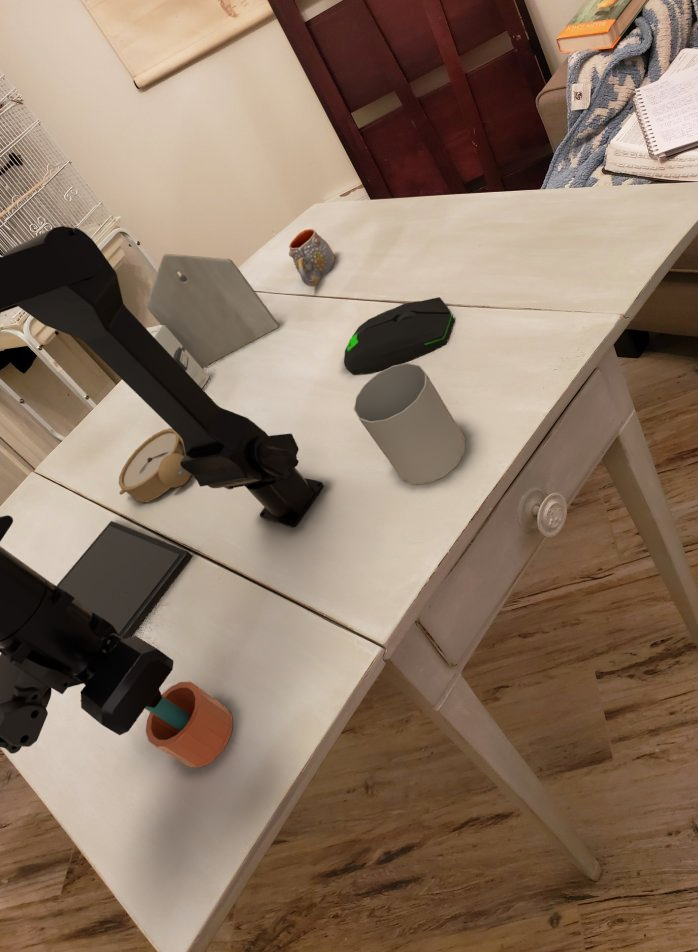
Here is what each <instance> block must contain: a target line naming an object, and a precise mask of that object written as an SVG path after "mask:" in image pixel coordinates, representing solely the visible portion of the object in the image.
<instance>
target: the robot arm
mask: <svg viewBox="0 0 698 952" xmlns="http://www.w3.org/2000/svg"><path fill="white" fill-rule="evenodd" d="M123 299H124V298H123V296H122V291H121V285H120V282H119V278H118V274H117V272H116V270H115V269H114V267H113V266H112V264H111V263H110V262H109V261H108V259H107V257H106V256H105V255H104V253H103V252H102V250H101V249H100V248H99V246H98V245H97V244H96V242H95V241H94V240H93V239H92V238H91V236H90V235H88V234H87V233H86V232H85V231H84V230H82V229H80V228H78V227H74V228H73V227H72V226H71V227H70V226H65V225H61V226H56V227H53V228H51V229H49V230H47V231H45V232H43V233H40V234H38V235H36V236H34V237H32V238H30V239H28V240H26V241H24V242H21V243H20V244H17V245H16V246H14V247H11V248H10V249H9V250H6V251H5V252H4V254H2V256H0V314H1V313H4V312H7V311H10V310H12V309H15V308H20V309H21V310H22V311H24V312H26V313H27V314H29V316H31V317H32V318H34V319H35V320H36V321H38V322H39V323H41V324H42V325H44V326H46V327H48V328H50V329H54V330H56V331H59V332H61V333H64V334H65V335H69V336H72V337H74V338H77V339H79V340H80V341H81V342H83V343H84V344H85V345H86V346H87V347H88V348H90V350H91V351H92V352H93V353H95V355H97V356H98V358H100V359H101V361H103V362H104V363H105V364H106V365H107V367H109V368H110V369H111V371H113V372H114V374H116V375H117V376H118V377H119V378H120V379H121V380H122V381H123V382H124V383H125V384H126V385H127V386H128V387H129V388H131V390H132V391H133V392H134V393H135V394H136V395H137V396H138V397H139V398H141V400H142V401H143V402H144V403H146V404H147V405H148V407H149V408H150V409H152V410H153V412H154V413H156V414H157V416H159V417H160V418H161V419H162V420H163V421H164V422H165V423H166V424H167V425H168V426H169V428H171V429H173V430H174V431H175V432H176V433H177V434H178V435H179V436H180V437H181V438H182V441H183V446H184V451H185V457H184V458H183V459H182V461H181V462H180V465H181V466H182V468H183V469H185V470H186V471H188V472H189V473H190V474H191V476H192V477H193V478H194V479H195V481H196V482H197V484H198V486H199V487H200V488H201V487H207V486H208V487H209V488H210V489H222V488H225V489H226V490H233V489H236V488H240V487H245V488H246V489H247V491H248V492H249V493H251V495H252V496H253V497H254V498H255V499H256V500H257V501H258V502H259V503H260V504H261V505H262V506H263V509H262V510H261V512H260V513H259V518H261V519H262V520H264V521H267V522H271V523H274V524H278V525H282V526H284V527H288V528H291V529H294V528H296V527H297V526H298V525H299V523H300V522H301V521H302V519H303V518H304V516H306V513H307V512H308V511H309V509H310V508H311V506H312V505H313V504H314V502H315V501H316V499H317V498H318V496H319V495H320V494H321V492H322V491H323V489H324V487H325V484H324V483H323V482H322V481H319V480H315V479H310V478H306V477H304V476H303V475H302V474H301V473H300V471H299V470H298V469H297V468H296V467H298V465H299V463H300V462H299V460H298V459H297V458H298V456H297V455H298V452H299V448H300V447H299V446H298V444H297V442H296V440H295V437H294V435H293V433H282V434H272V435H269V434H268V433H267V432H266V431H264V429H262V428H261V427H259V426H258V425H257V424H256V423H255V422H254V421H252V420H251V419H249V418H248V417H247V416H244V415H242V414H239V413H236V412H234V411H230V410H229V409H225V408H223V407H221V406H219V405H218V404H217V403H216V402H215V401H214V400H213V399H212V397H210V396H209V394H207V392H205V390H204V389H203V388H201V387H200V386H199V385H198V384H197V383H196V382H195V381H194V380H193V379H192V378H191V376H190V375H189V374H188V373H187V372H186V371H185V370H184V369H183V368H182V367H181V366H180V365H179V364H178V363H177V361H176V360H175V359H174V358H173V357H172V356H171V355H170V354H169V353H168V352H167V351H166V350H165V349H164V347H163V346H162V345H161V344H160V343H159V342H158V341H157V340H156V339H155V338H154V337H153V336H152V335H151V333H150V332H149V331H148V330H147V329H146V328H147V327H145V326H144V325H143V324H142V323H141V321H140V320H139V319H138V318H137V317H136V316H135V315H134V314H133V313H132V312H131V311H130V310H129V308H128V307H127V306H126V305H125V303H124V300H123ZM13 523H14V518H13V517H12V516H11V515H10V514H9V515H8V514H7V515H2V516H0V542H2V540H3V539H4V537H5V535H6V534H7V532H8V531H9V529H10V528H11V527H12V525H13ZM173 670H174V660H173V659H172V658H170V657H169V656H168V655H167V654H165V653H164V652H162V651H161V650H160V649H159V648H157V647H156V646H153V645H152V644H150V643H149V642H147V641H146V640H143V639H142V638H141V637H138V636H137V635H134V636H133V635H132V636H129V637H128V638H126V639H122V638H121V637H120V636H119V634H118V633H117V631H116V629H115V628H114V626H113V625H112V624H110V623H109V622H107V621H106V620H105V619H103V618H101V617H100V616H98V615H97V614H95V613H93V612H91V611H90V610H89V609H87V608H86V607H84V606H83V605H82V604H81V603H79V602H78V601H76V600H75V598H74V597H73V596H71V595H70V594H69V593H67V592H66V591H64V590H62V589H61V588H59V587H57V584H54V583H52V582H51V581H50V580H49V579H47V578H45V577H44V576H43V575H42V574H41V573H39V572H37V571H36V570H34V569H33V568H32V567H30V566H29V565H28V564H26V563H25V562H23V561H22V560H21V559H19V558H17V557H16V556H15V555H14V554H13V553H11V552H9V550H6V549H5V548H4V547H3V546H1V545H0V748H3V749H5V750H6V751H7V752H8V753H9V754H13V755H14V754H17V753H18V752H20V750H21V748H22V747H23V748H25V747H26V748H29V747H31V746H33V745H34V744H35V743H37V741H38V739H39V737H40V734H41V732H42V730H43V727H44V725H45V723H46V720H47V717H48V714H49V712H48V709H47V707H48V706H49V702H50V701H51V697H52V690H54V691H56V692H57V693H59V694H61V695H63V694H64V693H65V692H66V691H67V689H68V688H72V687H75V686H76V687H77V686H79V685H84V687H83V688H82V689H81V690H80V708H81V709H82V710H83V711H84V712H85V713H86V714H88V715H89V716H90V717H91V718H93V719H94V720H95V721H97V722H98V723H99V724H100V725H101V726H103V727H104V728H106V729H107V730H109V731H111V732H113V733H115V734H116V735H118V736H122V735H124V734H126V733H128V732H129V731H130V730H131V728H132V727H133V726H134V724H135V723H136V722H137V720H138V719H139V717H140V716H141V715H142V713H144V711H145V710H146V709H145V708H146V706H147V707H151V708H155V707H156V706H157V705H158V703H159V702H160V700H161V699H162V693H161V690H160V688H161V687H162V686H163V684H164V683H165V681H166V680H167V678H168V677H169V676H170V674H171V673H172V671H173Z"/></svg>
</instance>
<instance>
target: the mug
mask: <svg viewBox="0 0 698 952" xmlns="http://www.w3.org/2000/svg"><path fill="white" fill-rule="evenodd" d="M288 247H289V251H288V256H289V257H290V258H292V263H294V264H293V265H294V266H295V269H296V271H297V272H298V274H299V277H300V278H301V281H302V282H303V284H304V285H306V286H308V287H315V286H317V285H318V283H319V282H320V280H321V279H322V277H324V276H325V275H326V274H328V273H329V272H330V271H331V270H332V268H333V267H334V264H335V258H336V255H335V254H334V252H333V249H332V248H331V246H330V245H329V243H328V242H327V241H326V240H325V239H324V238H323V237H322V236H321V235H319V234H318V233H317V232H316V230H315V229H313V228H308V229H304V230H302V231H300V232H299V233H298V234H297V235H296V236H295V237H294V238H293V239H292V240H291V241H290V244H289V245H288Z"/></svg>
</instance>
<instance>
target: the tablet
mask: <svg viewBox="0 0 698 952" xmlns="http://www.w3.org/2000/svg"><path fill="white" fill-rule="evenodd" d="M192 557H193V554H192V553H190V552H189V551H188V550H185V549H183V548H180V547H178V546H175V545H172V544H171V543H168V542H165V541H163V540H160V539H158V538H155V537H154V536H150V535H147V534H145V533H142V532H140V531H137V530H135V529H133V528H130V527H128V526H125V525H123V524H120V523H117V522H115V521H113V520H111V521H109V522H108V524H107V525H106V526H105V527H104V528H103V530H102V531H101V532H100V533H99V534H98V536H97V537H96V538H95V540H93V542H91V544H90V545H89V547H87V549H86V550H85V551H84V552H83V554H82V555H81V556H80V557H79V558H78V559H77V560H76V562H75V563H74V565H72V566H71V567H70V569H69V570H68V571H67V573H66V574H65V575H64V576H63V577H62V578H61V580H60V581H59V582H58V583H57V584H56V586H57V587H59V588H61V589H62V590H64V591H66V592H67V593H69V594H70V595H71V596H73V597H74V598H75V600H76V601H78V602H79V603H81V604H82V605H83V606H84V607H86V608H87V609H89V610H90V611H91V612H93V613H95V614H97V615H98V616H100V617H101V618H103V619H105V620H106V621H107V622H109V623H110V624H112V625H113V626H114V628H115V629H116V631H117V633H118V634H119V636H120V637H121V638H122V639H126V638H128V637H129V636H131V637H133V635H134V634H135V632H136V631H137V630H138V628H139V627H140V625H141V624H142V623H143V621H144V620H145V619H146V618H147V616H148V615H149V614H150V612H151V611H152V610H153V608H154V607H155V606H156V604H158V602H159V601H160V599H161V598H162V596H163V595H164V594H165V593H166V592H167V590H168V589H169V588H170V586H171V585H172V584H173V582H174V581H175V579H177V577H178V576H179V574H180V573H181V572H182V571H183V569H184V568H185V566H186V565H187V564H188V562H189V561H190V560H191V559H192Z"/></svg>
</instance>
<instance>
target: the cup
mask: <svg viewBox="0 0 698 952" xmlns="http://www.w3.org/2000/svg"><path fill="white" fill-rule="evenodd" d="M353 411H354V412H355V415H356V416H357V419H358V420H359V422H360V423H361V424H362V426H363V427H364V428H365V430H366V432H367V433H368V434H369V435H370V436H371V438H372V439H373V441H374V443H375V444H376V445H377V446H378V448H379V449H380V450H381V453H383V455H384V456H385V458H386V459H387V460H388V462H389V463H390V465H391V466H392V468H393V469H394V471H396V473H397V474H398V476H399V477H400V479H401V480H402V481H404V482H407V483H410V485H411V484H412V485H424V484H425V485H426V484H430V483H433V482H434V481H437V480H440V479H442V478H443V477H446V476H447V475H448V474H450V472H451V471H452V470H454V469H455V468H456V467H458V465H459V464H460V461H461V459H462V458H463V456H464V454H465V452H466V437H465V435H464V434H463V432H462V430H461V429H460V427H459V425H458V424H457V422H456V420H455V419H454V417H453V415H452V413H451V412H450V411H449V409H448V406H447V405H446V403H445V402H444V400H443V399H442V396H441V395H440V394H439V392H438V390H437V389H436V387H435V386H434V383H433V382H432V380H431V379H430V377H429V375H428V374H427V372H426V371H425V370H424V369H423V367H422V366H421V365H419V364H415V363H410V362H405V363H403V364H400V365H395V366H392V367H390V368H388V369H386V370H382V371H379V372H377V373H376V374H375V375H374V376H373V377H371V379H369V380H368V381H367V382H366V383H365V384H363V386H362V387H361V389H360V391H359V392H358V393H357V395H356V397H355V400H354V406H353Z"/></svg>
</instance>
